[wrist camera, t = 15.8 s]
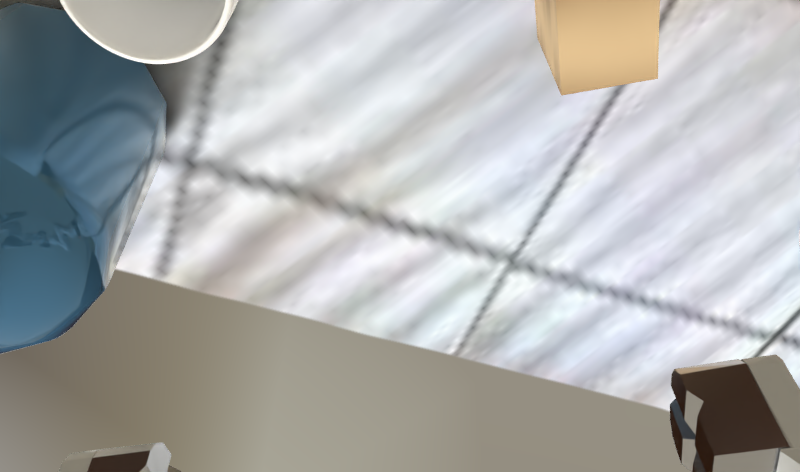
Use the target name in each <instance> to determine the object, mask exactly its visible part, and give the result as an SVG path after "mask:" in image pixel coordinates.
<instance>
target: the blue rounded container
mask: <svg viewBox="0 0 800 472" xmlns="http://www.w3.org/2000/svg"><path fill="white" fill-rule="evenodd" d="M166 106H167V103H166V101H165V99H164V97H163V95H162V93H161V92H160V90H159V88H158V86H157V85H156V83H155V81H154V79H153V77H152V76H151V74H150V72H149V70H148V69H147V67H146V65H145V63H142V62H137V61H133V60H129V59H126V58H124V57H121V56H119V55H116V54H114V53H112V52H110V51H108V50H107V49H105V48H103V47H102V46H100V45H99V44H97V43H96V42H94V41H93V40H92V39H91V38H89V37H88V36H87V35H86V34H85V33H84V32H83V31H82V30H81V29H80V28H79V27H78V26H77V25H76V24H75V23H74V22H73V20H72V19H71V18H70V16H69V15H68V14H67V12H66V11H65V10H60V9H55V8H50V7H45V6H39V5H34V4H29V3H20V2H18V3H15V4H13V5H10V6H7V7H4V8H1V9H0V354H2V353H6V352H10V351H13V350H17V349H21V348H24V347H28V346H32V345H35V344H39V343H43V342H47V341H51V340H53V339H56V338H58V337H59V336H61V335H63V334H64V333H66V332H67V331H68V330H69V329H71V328H72V327H73V326H74V324H76V322H77V321H78V320H79V319H80V318H81V317H82V315H83V314H84V313H85V312H86V311H87V310H88V309H89V308H90V307H91V305H92V304H93V303H94V302H95V301H96V300H97V299H98V297H99V296H100V295H101V294H102V293H103V292H104V291H105V289H106V287H107V285H108V283H109V281H110V279H111V277H112V274H113V272H114V270H115V268H116V265H117V263H118V261H119V258H120V256H121V254H122V251H123V249H124V247H125V244H126V242H127V239H128V237H129V235H130V232H131V230H132V228H133V225H134V223H135V221H136V218H137V216H138V214H139V211H140V209H141V207H142V204H143V202H144V200H145V197H146V195H147V193H148V190H149V188H150V185H151V183H152V181H153V178H154V176H155V174H156V171H157V169H158V167H159V164H160V162H161V160H162V157H163V155H164V153H165V137H166Z"/></svg>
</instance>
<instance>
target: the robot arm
mask: <svg viewBox="0 0 800 472" xmlns="http://www.w3.org/2000/svg"><path fill="white" fill-rule="evenodd" d="M799 245H800V230H799ZM671 387H672V389H673V392H674V394H675V397H676V399H675V400H674V401H673V402H672V403H671V404H670V423H671V430H672V436H673V440H674V444H675V447H676V450H677V453H678V456H679V459H680V462H681V464H682V465H683V466H685V467H686V468H687V469H689V470H690V471H691V472H800V389H799V387H798V386H797V384H796V382H795V381H794V379H793V377H792V375H791V374H790V372H789V370H788V369H787V367H786V365H785V363H784V362H783V360H782V359H781V358H780V357H778V356H777V355H769V356H762V357H755V358H748V359H742V360H739V359H736V360H730V361H723V362H717V363H710V364H704V365H697V366H691V367H684V368H678V369H674V371H673V373H672V377H671ZM170 457H171V454H170V452H169V451H168V449H167V448H166V447H165V445H164V443H153V444H144V445H135V446H127V447H117V448H110V449H100V450H93V451H85V452H78V453H71V454H69V455H68V457H67V458H66V459H65V460H64V461H63V463H62V464H61V467H60V469H59V472H181V471H180V470H178V469H176V468H174V467H172V466H170V465H169V462H170Z"/></svg>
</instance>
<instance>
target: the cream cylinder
mask: <svg viewBox="0 0 800 472" xmlns="http://www.w3.org/2000/svg"><path fill="white" fill-rule="evenodd" d="M238 1H239V0H60V2H61V4H62V6H63V7H64V9H65V11H66V12H67V14H68V15H69V16H70V18H71V19H72V20H73V22H74V23H75V24H76V25H77V26H78V27H79V28H80V29H81V30H82V31H83V32H84V33H85V34H86V35H87V36H88V37H89V38H91V39H92V40H93V41H94V42H96V43H97V44H99V45H100V46H102V47H103V48H105V49H107V50H108V51H110V52H112V53H114V54H116V55H119V56H121V57H124V58H126V59H129V60H133V61H137V62H142V63H149V64H168V63H175V62H180V61H183V60H186V59H189V58H191V57H194V56H196V55H197V54H199V53H201V52H202V51H204V50H205V49H207V48H208V47H209V46H210V45H211V44H213V43H214V41H215V40H216V39H217V38H218V37H219V36H220V34H221V33H222V31H223V30H224V28H225V26H226V24H227V22H228V21H229V19H230V17H231V15H232V13H233V12H234V10H235V8H236V5H237V3H238Z"/></svg>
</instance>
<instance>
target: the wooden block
mask: <svg viewBox="0 0 800 472" xmlns="http://www.w3.org/2000/svg"><path fill="white" fill-rule="evenodd" d="M659 6H660V0H535V11H536V24H537V37H538V40H539V43H540V45H541V47H542V50H543V52H544V55H545V57H546V59H547V62H548V64H549V67H550V69H551V71H552V74H553V76H554V79H555V81H556V83H557V86H558V88H559V91H560V93H561V95H566V94H572V93H578V92H583V91H589V90H595V89H601V88H606V87H612V86H618V85H623V84H629V83H635V82H641V81H646V80H652V79H658V46H659Z"/></svg>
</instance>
